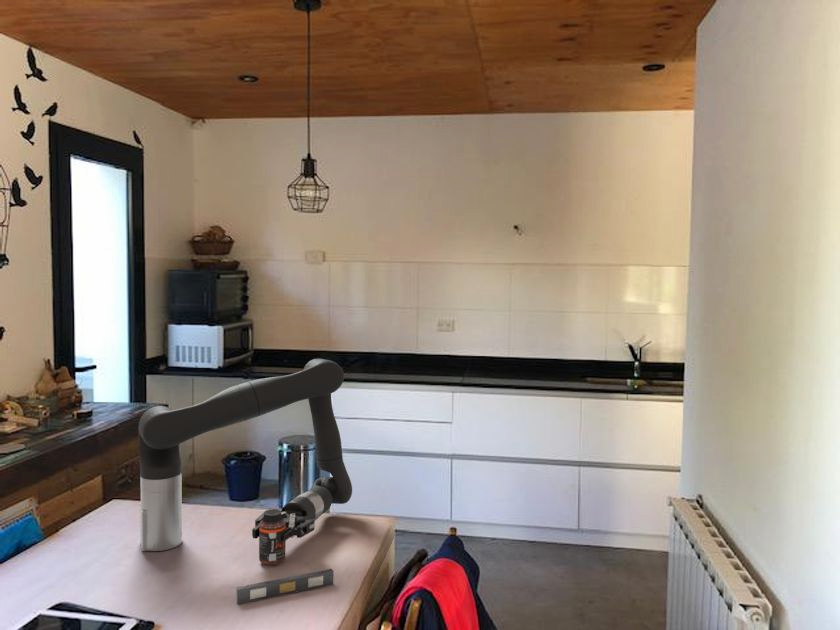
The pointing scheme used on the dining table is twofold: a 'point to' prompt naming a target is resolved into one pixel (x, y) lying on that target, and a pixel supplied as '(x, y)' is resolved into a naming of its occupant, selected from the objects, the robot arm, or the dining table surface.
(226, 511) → the dining table surface
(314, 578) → the rail
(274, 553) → the supplement bottle
